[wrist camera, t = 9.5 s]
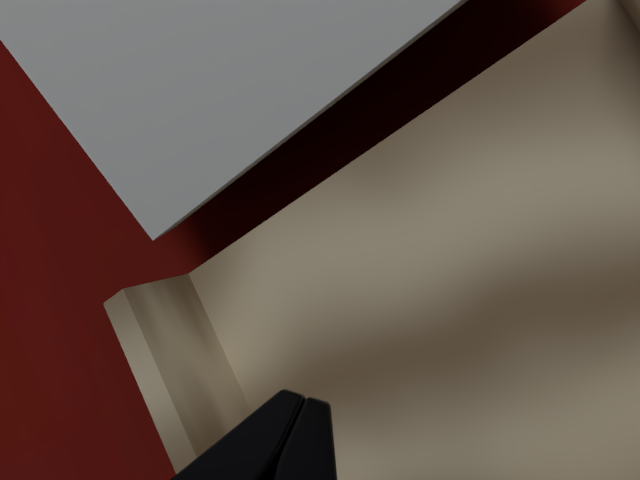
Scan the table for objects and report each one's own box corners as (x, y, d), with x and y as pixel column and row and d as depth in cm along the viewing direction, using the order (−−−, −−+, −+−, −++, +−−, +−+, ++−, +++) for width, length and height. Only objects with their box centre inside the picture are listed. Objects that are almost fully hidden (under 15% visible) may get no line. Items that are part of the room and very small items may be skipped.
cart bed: (989, 469, 11) (1431, 793, 5) (345, 580, 19) (241, 747, 14) (655, -21, 13) (704, -186, 7) (204, 278, 21) (61, 313, 15)
